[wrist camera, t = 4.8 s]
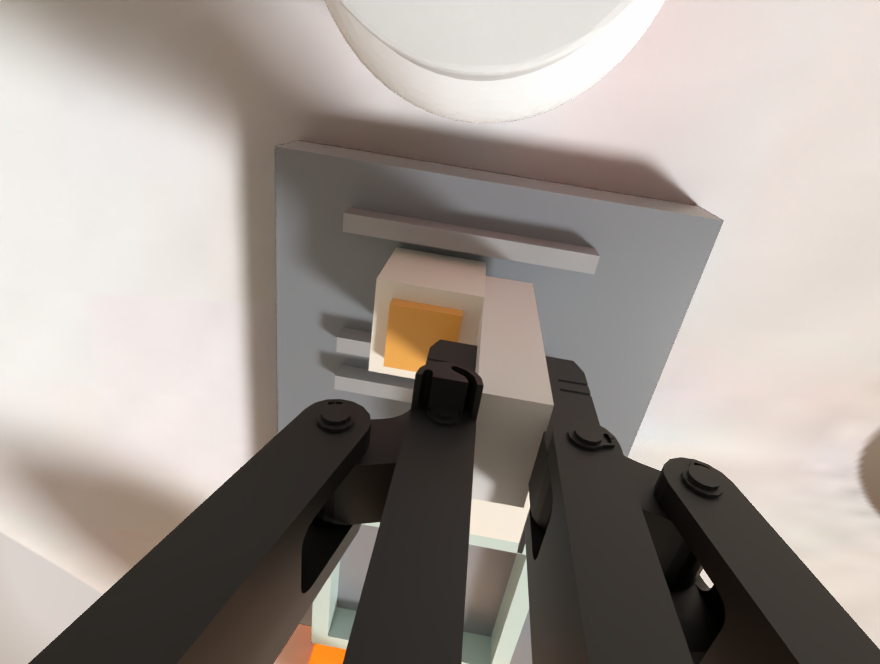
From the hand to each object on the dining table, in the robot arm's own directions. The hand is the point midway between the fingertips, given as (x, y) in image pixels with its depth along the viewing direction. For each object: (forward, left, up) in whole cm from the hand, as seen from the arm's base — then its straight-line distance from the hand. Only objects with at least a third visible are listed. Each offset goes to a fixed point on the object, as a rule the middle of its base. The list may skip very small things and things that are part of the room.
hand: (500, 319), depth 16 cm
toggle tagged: (0, -2, -1) cm, 2 cm away
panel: (+8, -1, -3) cm, 9 cm away
